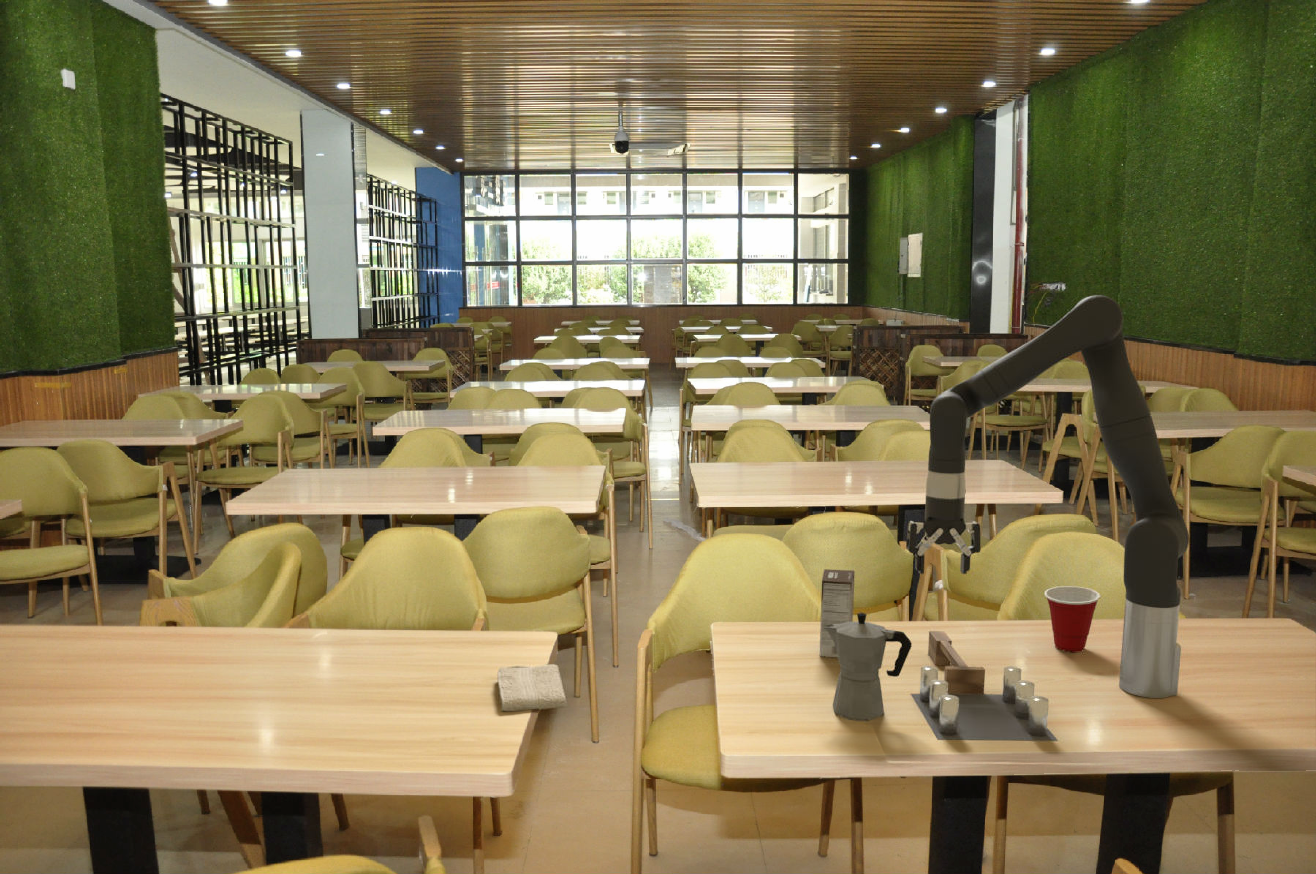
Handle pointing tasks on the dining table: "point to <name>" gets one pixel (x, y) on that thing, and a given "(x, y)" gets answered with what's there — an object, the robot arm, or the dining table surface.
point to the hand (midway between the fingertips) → (942, 573)
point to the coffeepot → (863, 666)
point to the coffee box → (835, 605)
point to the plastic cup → (1071, 615)
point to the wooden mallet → (955, 666)
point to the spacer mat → (984, 720)
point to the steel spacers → (1013, 693)
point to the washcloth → (530, 688)
